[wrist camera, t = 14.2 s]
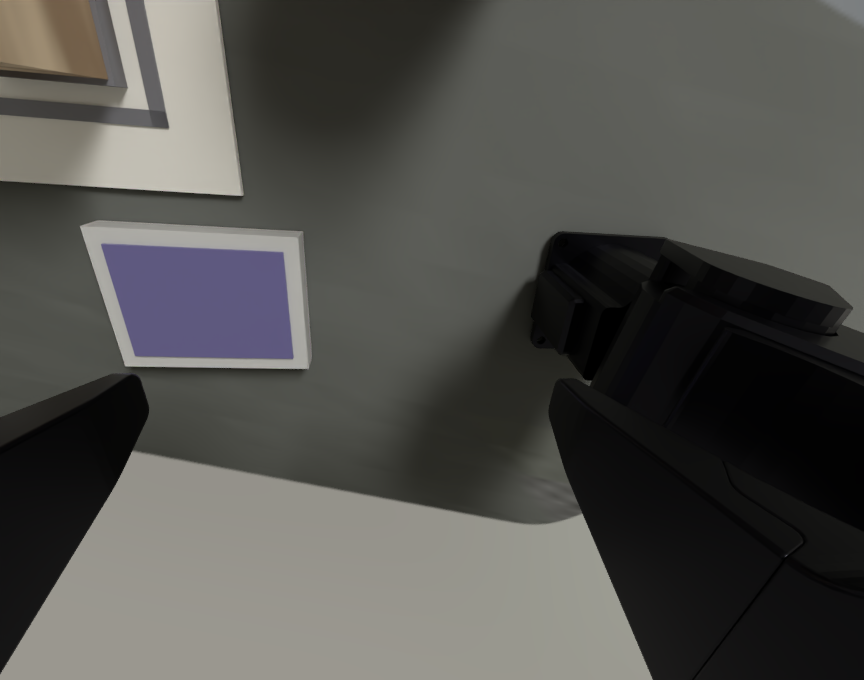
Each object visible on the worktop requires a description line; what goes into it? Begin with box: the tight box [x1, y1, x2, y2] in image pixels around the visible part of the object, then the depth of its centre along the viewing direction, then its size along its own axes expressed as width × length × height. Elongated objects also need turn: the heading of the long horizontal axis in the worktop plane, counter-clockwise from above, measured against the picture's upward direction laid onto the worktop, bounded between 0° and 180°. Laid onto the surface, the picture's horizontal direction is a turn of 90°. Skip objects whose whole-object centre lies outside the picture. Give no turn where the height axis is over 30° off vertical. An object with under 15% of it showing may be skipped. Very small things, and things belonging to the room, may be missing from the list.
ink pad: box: [80, 220, 312, 369], centre depth 20 cm, size 9×7×1 cm
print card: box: [0, 0, 244, 196], centre depth 15 cm, size 12×12×1 cm
